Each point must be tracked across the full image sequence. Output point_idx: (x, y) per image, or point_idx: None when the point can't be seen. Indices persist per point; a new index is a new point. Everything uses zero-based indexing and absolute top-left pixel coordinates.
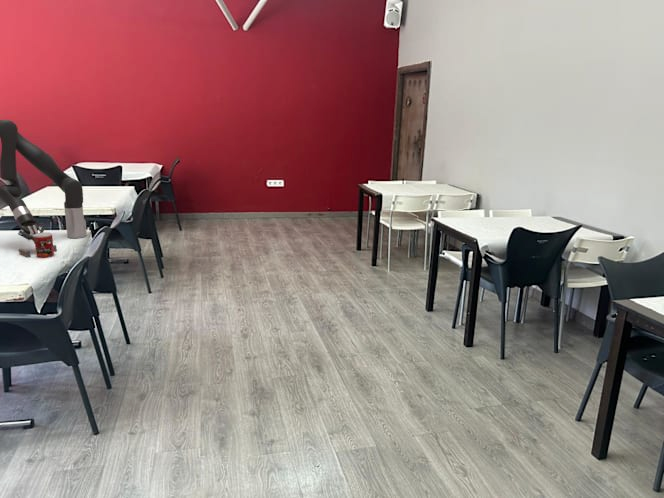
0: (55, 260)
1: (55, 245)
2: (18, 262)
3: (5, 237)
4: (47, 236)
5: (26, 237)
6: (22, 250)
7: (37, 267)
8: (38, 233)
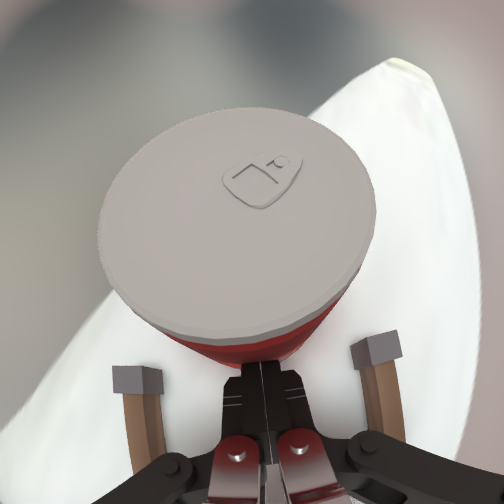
0: None
1: (116, 371)
2: (431, 253)
3: None
4: (223, 116)
5: (390, 487)
6: (397, 418)
7: (356, 130)
8: (266, 314)
